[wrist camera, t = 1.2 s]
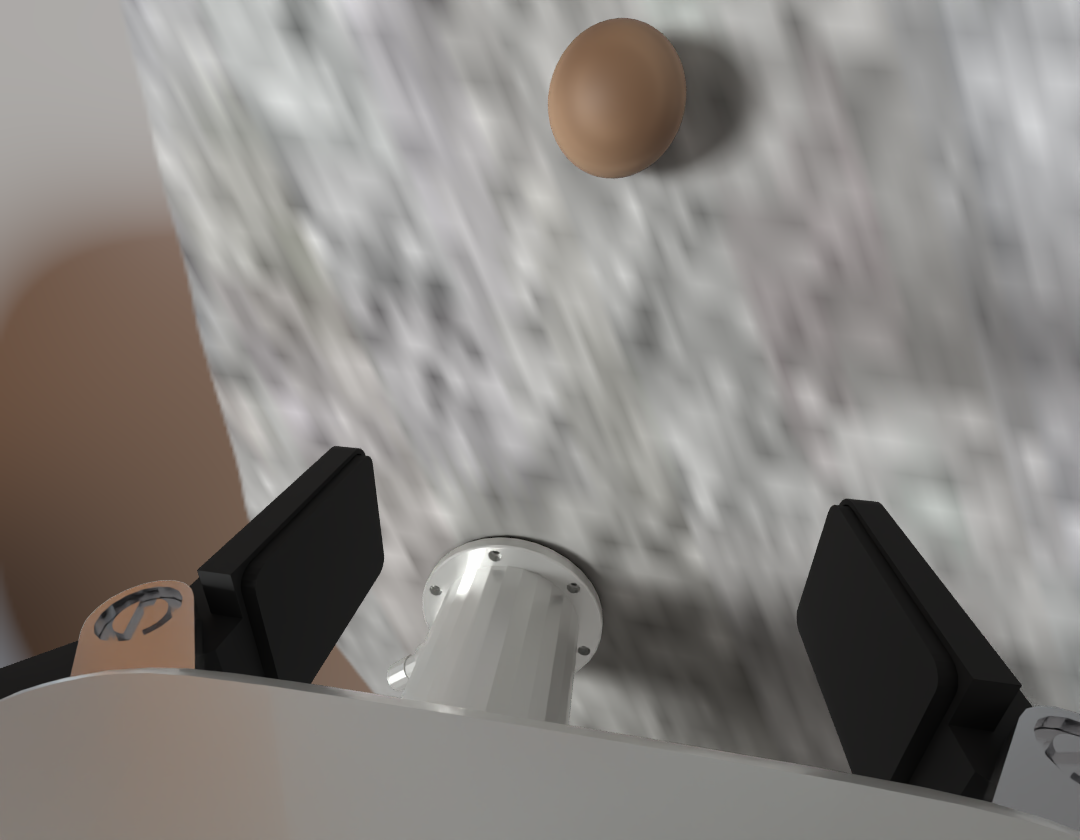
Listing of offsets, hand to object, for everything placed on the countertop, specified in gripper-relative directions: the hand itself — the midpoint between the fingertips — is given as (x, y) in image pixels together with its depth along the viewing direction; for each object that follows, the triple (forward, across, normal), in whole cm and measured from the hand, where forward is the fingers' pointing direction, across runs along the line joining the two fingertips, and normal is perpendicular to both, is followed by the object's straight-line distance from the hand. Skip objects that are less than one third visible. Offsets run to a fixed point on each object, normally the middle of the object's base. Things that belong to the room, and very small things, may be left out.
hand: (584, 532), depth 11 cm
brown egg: (+16, 0, -9) cm, 18 cm away
